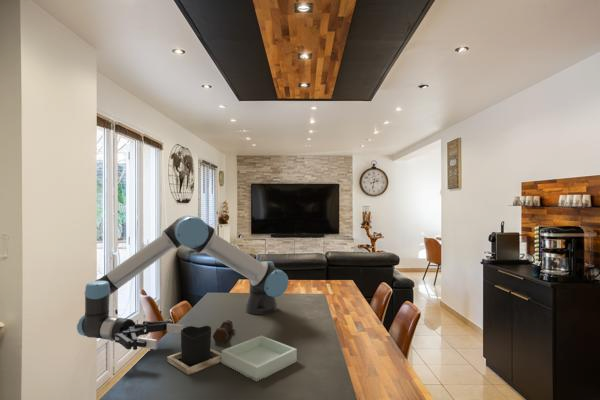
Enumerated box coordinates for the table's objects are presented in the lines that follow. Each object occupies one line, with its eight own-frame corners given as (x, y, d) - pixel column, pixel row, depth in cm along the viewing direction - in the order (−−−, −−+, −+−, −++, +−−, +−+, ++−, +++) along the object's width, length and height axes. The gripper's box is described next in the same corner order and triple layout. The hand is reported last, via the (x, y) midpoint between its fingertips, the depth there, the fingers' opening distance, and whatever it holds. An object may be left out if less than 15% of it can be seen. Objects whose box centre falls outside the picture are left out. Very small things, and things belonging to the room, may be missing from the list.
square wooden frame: (202, 348, 119) (202, 344, 119) (224, 360, 110) (224, 355, 110) (166, 361, 109) (166, 356, 109) (188, 374, 101) (188, 369, 101)
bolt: (230, 333, 139) (222, 347, 124) (220, 326, 139) (210, 340, 124) (237, 320, 139) (230, 333, 124) (227, 314, 139) (218, 326, 124)
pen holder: (198, 352, 116) (198, 322, 116) (217, 359, 111) (217, 328, 111) (174, 362, 109) (174, 331, 109) (193, 370, 103) (193, 337, 103)
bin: (261, 346, 121) (261, 335, 121) (296, 361, 110) (296, 349, 110) (221, 363, 108) (221, 350, 108) (256, 381, 97) (256, 367, 97)
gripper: (144, 327, 131) (192, 334, 125) (87, 355, 107) (142, 364, 101) (144, 308, 131) (192, 313, 125) (87, 331, 107) (143, 339, 101)
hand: (170, 336), depth 113 cm, fingers open, 13 cm apart
